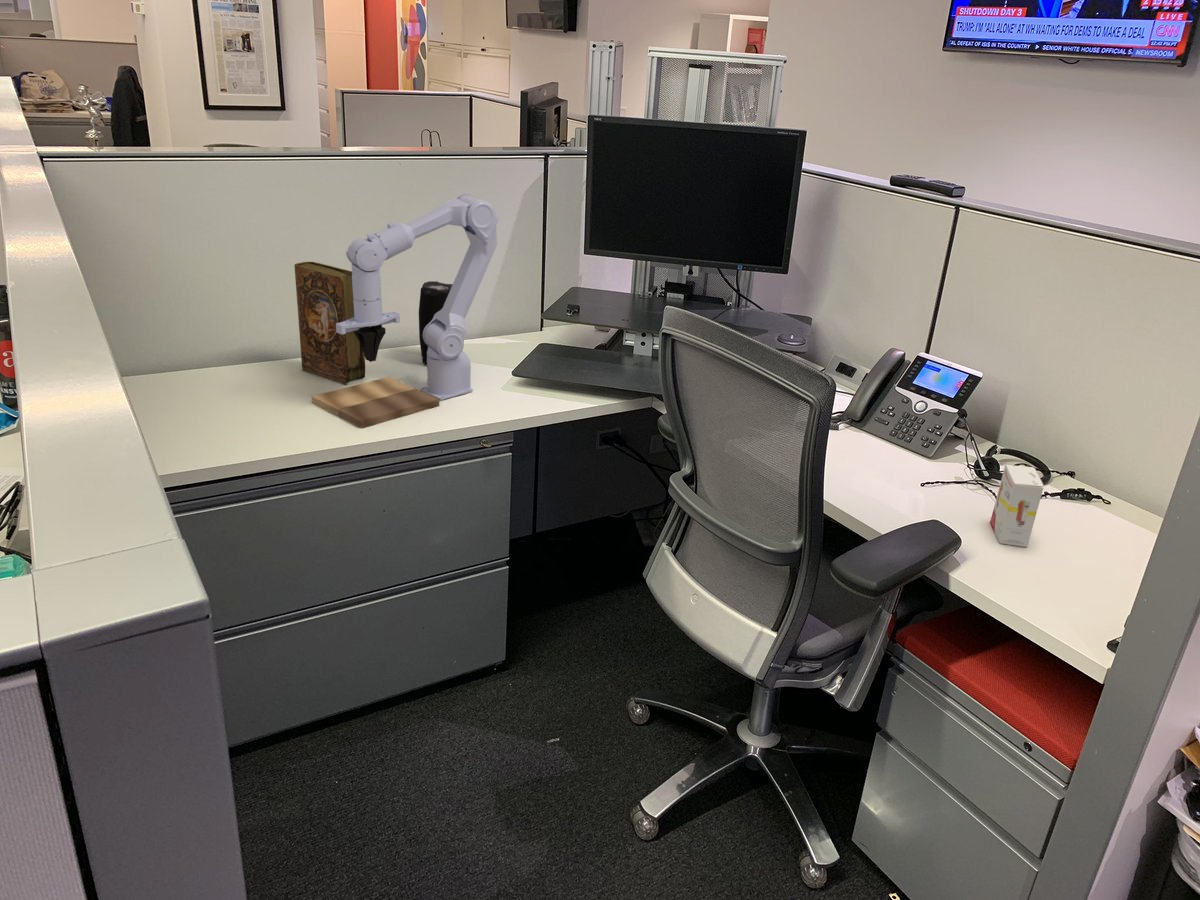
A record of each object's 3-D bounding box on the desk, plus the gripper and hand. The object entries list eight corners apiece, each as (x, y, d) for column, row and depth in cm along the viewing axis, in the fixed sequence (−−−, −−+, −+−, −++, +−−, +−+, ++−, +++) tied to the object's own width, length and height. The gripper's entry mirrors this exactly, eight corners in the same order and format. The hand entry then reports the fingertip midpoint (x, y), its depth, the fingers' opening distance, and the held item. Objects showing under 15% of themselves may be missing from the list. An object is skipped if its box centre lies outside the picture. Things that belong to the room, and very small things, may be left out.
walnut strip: (416, 395, 204) (416, 388, 203) (439, 405, 199) (439, 399, 198) (339, 416, 190) (338, 409, 189) (361, 428, 185) (361, 421, 185)
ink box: (988, 521, 165) (1004, 462, 160) (1017, 525, 164) (1034, 466, 159) (997, 543, 157) (1014, 482, 152) (1027, 548, 156) (1045, 487, 152)
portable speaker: (463, 360, 228) (463, 284, 220) (441, 371, 220) (441, 291, 212) (434, 354, 231) (433, 278, 223) (412, 364, 223) (410, 285, 215)
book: (298, 369, 214) (290, 264, 204) (316, 364, 219) (309, 260, 208) (348, 385, 207) (342, 277, 196) (365, 379, 211) (360, 273, 201)
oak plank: (389, 382, 210) (388, 376, 209) (415, 394, 204) (415, 388, 203) (312, 402, 196) (311, 396, 196) (338, 415, 190) (337, 409, 190)
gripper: (385, 288, 196) (387, 348, 202) (325, 299, 186) (330, 362, 192) (404, 295, 192) (407, 356, 198) (345, 306, 182) (349, 370, 188)
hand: (370, 360), depth 195 cm, fingers closed
